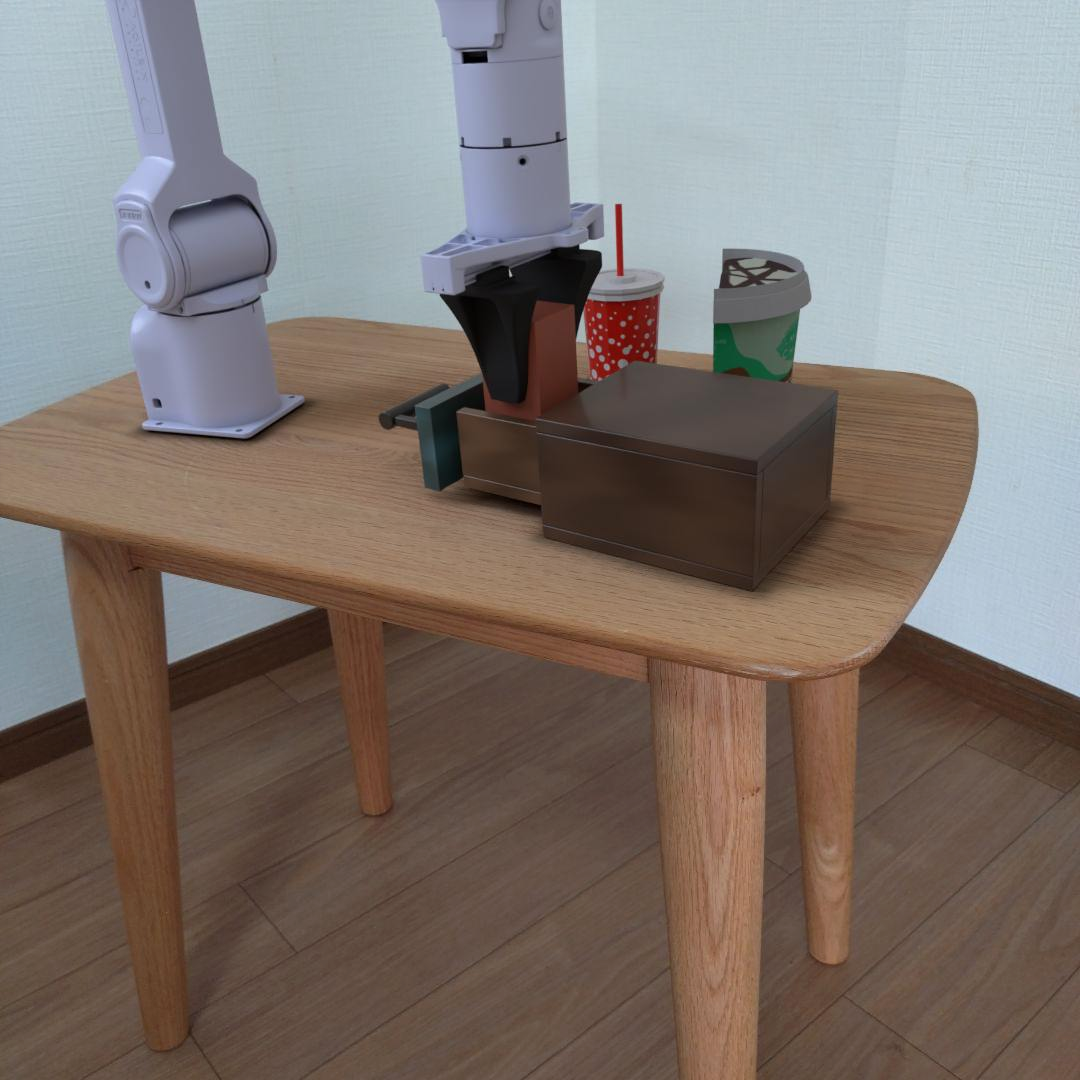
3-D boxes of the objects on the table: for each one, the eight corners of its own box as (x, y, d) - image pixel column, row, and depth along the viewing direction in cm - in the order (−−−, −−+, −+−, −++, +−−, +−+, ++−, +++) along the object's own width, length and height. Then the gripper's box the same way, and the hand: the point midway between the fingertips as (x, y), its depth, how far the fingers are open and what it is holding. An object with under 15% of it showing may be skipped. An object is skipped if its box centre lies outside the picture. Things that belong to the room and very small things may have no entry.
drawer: (366, 473, 65) (353, 393, 63) (458, 423, 72) (450, 349, 70) (585, 527, 57) (581, 437, 54) (667, 465, 63) (666, 383, 61)
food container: (806, 443, 67) (816, 290, 63) (711, 441, 69) (713, 291, 64) (803, 380, 78) (810, 245, 73) (720, 379, 79) (722, 246, 75)
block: (485, 415, 61) (476, 315, 58) (524, 394, 64) (517, 297, 61) (541, 426, 59) (534, 322, 56) (579, 403, 62) (574, 304, 59)
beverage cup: (668, 412, 74) (666, 209, 67) (582, 416, 74) (572, 215, 68) (662, 384, 79) (661, 193, 73) (582, 387, 80) (573, 198, 73)
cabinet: (542, 537, 58) (534, 418, 55) (636, 468, 66) (634, 360, 62) (752, 591, 51) (757, 460, 48) (830, 508, 59) (838, 389, 56)
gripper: (491, 164, 47) (513, 441, 54) (647, 124, 58) (650, 360, 64) (377, 160, 51) (410, 420, 57) (542, 123, 61) (555, 346, 68)
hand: (530, 387), depth 61 cm, fingers closed on block, 4 cm apart
